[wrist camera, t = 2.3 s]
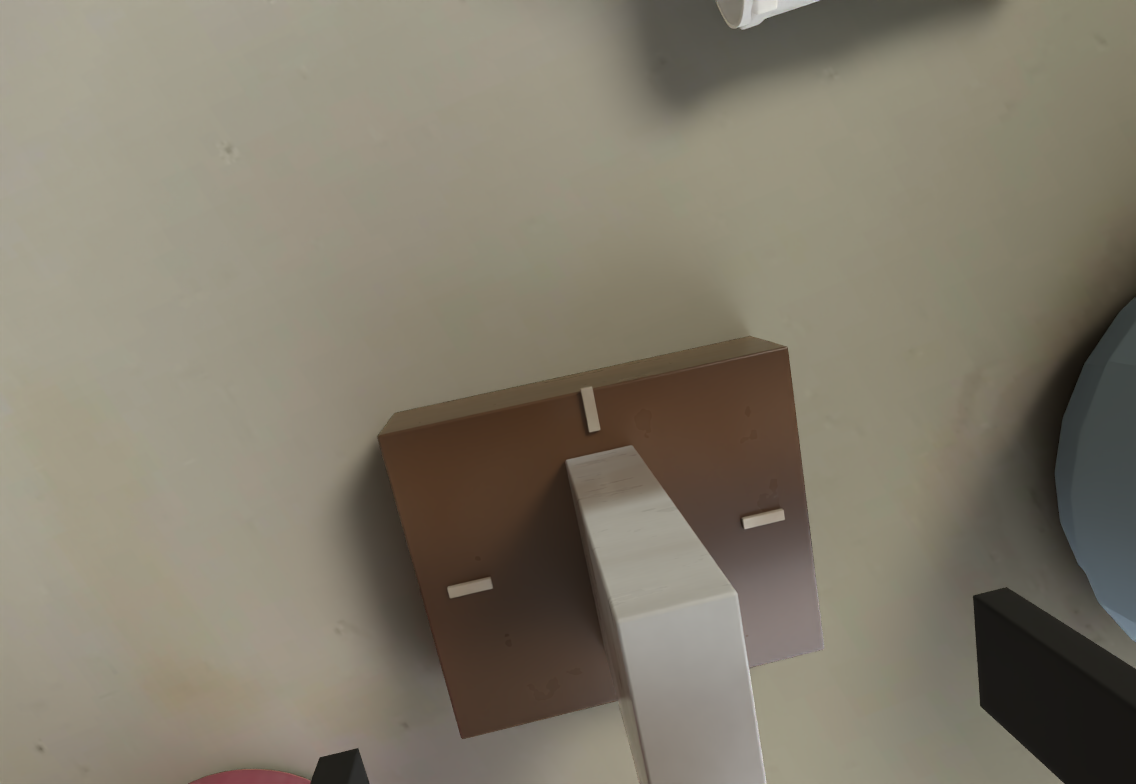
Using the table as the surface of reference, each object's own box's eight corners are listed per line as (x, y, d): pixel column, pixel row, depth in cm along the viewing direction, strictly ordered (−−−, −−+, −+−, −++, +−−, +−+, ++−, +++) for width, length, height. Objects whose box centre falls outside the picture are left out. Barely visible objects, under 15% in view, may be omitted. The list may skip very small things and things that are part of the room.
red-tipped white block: (564, 459, 19) (617, 629, 10) (632, 443, 19) (744, 598, 10) (605, 653, 21) (682, 948, 12) (668, 637, 21) (792, 918, 12)
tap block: (392, 410, 22) (373, 434, 18) (750, 332, 22) (790, 343, 19) (466, 685, 24) (461, 746, 21) (787, 606, 25) (828, 655, 22)
